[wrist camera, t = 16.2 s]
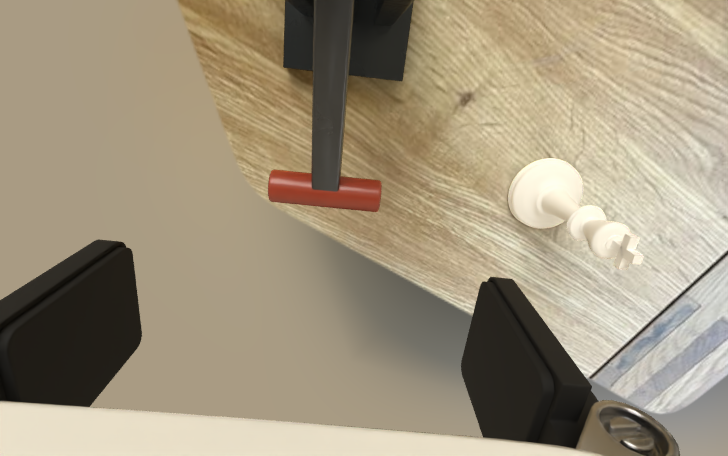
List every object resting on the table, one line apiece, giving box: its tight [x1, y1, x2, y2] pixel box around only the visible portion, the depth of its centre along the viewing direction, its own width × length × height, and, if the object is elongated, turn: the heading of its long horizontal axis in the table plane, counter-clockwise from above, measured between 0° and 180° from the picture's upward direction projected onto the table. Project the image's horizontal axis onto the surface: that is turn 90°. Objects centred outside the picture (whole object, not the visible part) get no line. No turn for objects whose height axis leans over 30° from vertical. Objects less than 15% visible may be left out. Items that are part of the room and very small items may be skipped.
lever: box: [268, 0, 382, 212], centre depth 13 cm, size 12×4×2 cm, turn 174°
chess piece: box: [508, 158, 644, 270], centre depth 23 cm, size 5×5×10 cm
